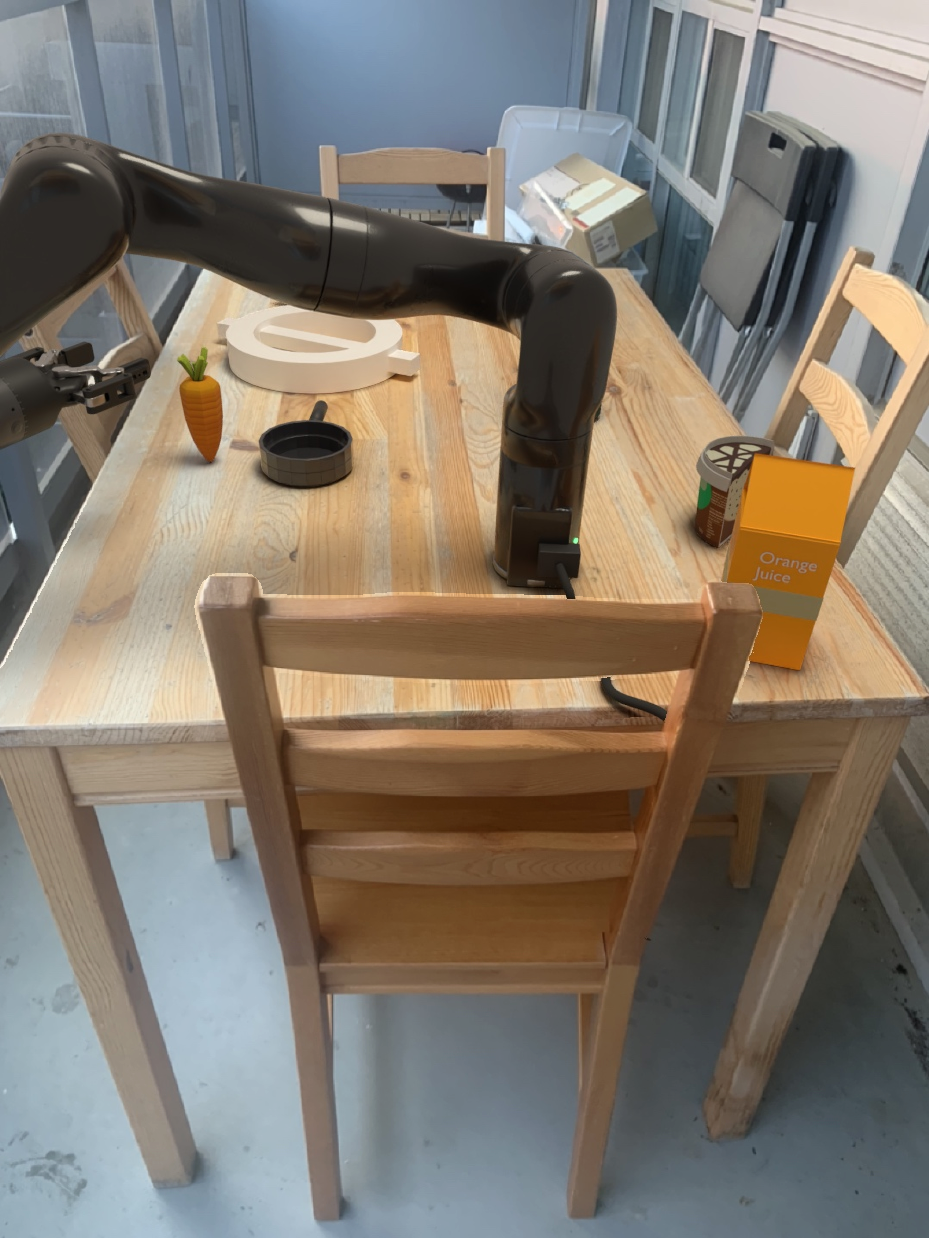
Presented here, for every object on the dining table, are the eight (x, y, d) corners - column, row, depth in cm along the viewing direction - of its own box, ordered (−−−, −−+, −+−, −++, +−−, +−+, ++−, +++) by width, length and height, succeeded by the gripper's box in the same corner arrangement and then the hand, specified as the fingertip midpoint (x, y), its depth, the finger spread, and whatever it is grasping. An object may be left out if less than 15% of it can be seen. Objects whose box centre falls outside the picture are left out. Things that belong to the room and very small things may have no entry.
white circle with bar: (426, 381, 145) (426, 352, 142) (248, 402, 136) (244, 371, 133) (373, 324, 165) (372, 297, 162) (216, 339, 156) (212, 311, 154)
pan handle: (320, 433, 123) (319, 420, 122) (307, 432, 123) (306, 420, 122) (329, 410, 129) (328, 398, 128) (316, 410, 129) (315, 398, 128)
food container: (713, 497, 117) (729, 424, 111) (758, 513, 114) (777, 439, 108) (665, 534, 109) (679, 458, 103) (712, 553, 106) (730, 475, 100)
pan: (346, 491, 115) (345, 462, 113) (253, 487, 115) (249, 458, 113) (358, 449, 125) (357, 422, 122) (272, 445, 125) (269, 418, 122)
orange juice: (800, 671, 89) (859, 487, 77) (708, 653, 91) (752, 471, 79) (799, 625, 95) (853, 448, 83) (712, 610, 97) (754, 435, 85)
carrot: (191, 472, 118) (173, 358, 109) (190, 455, 122) (172, 344, 113) (231, 468, 119) (216, 355, 110) (228, 451, 123) (214, 341, 114)
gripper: (36, 387, 85) (162, 338, 97) (-66, 355, 90) (65, 312, 102) (54, 460, 90) (172, 405, 101) (-44, 426, 95) (79, 377, 106)
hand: (118, 358), depth 102 cm, fingers open, 8 cm apart
